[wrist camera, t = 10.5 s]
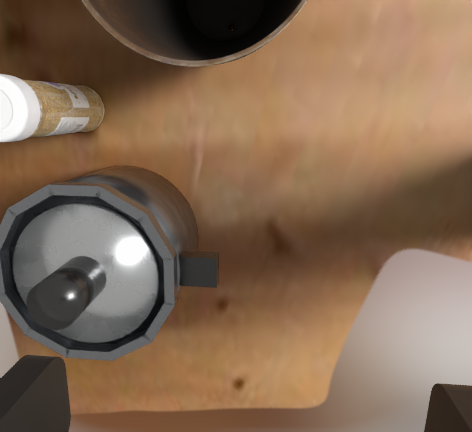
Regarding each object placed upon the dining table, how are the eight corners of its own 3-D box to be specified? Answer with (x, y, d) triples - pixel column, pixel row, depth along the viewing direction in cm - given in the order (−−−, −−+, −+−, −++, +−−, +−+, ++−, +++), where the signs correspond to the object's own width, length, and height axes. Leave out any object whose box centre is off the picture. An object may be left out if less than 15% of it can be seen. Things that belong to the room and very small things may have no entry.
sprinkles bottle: (102, 84, 38) (18, 70, 26) (108, 131, 40) (31, 141, 27) (57, 86, 39) (-48, 74, 26) (65, 133, 40) (-32, 144, 27)
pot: (228, 168, 40) (213, 190, 29) (226, 303, 43) (212, 367, 33) (26, 162, 41) (-60, 180, 30) (42, 293, 45) (-30, 351, 34)
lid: (162, 208, 31) (138, 230, 25) (159, 343, 34) (137, 390, 28) (15, 195, 31) (-42, 214, 26) (25, 328, 35) (-24, 372, 29)
